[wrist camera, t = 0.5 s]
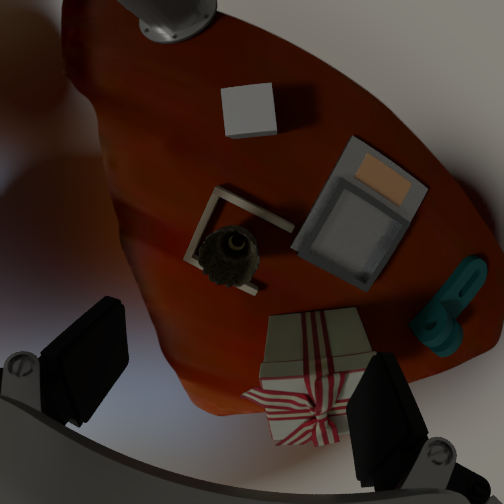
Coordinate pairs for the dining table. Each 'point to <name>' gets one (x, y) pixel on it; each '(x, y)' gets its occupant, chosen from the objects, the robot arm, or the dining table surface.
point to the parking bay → (242, 203)
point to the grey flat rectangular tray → (359, 215)
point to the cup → (229, 256)
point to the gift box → (311, 374)
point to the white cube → (249, 111)
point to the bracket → (449, 308)
